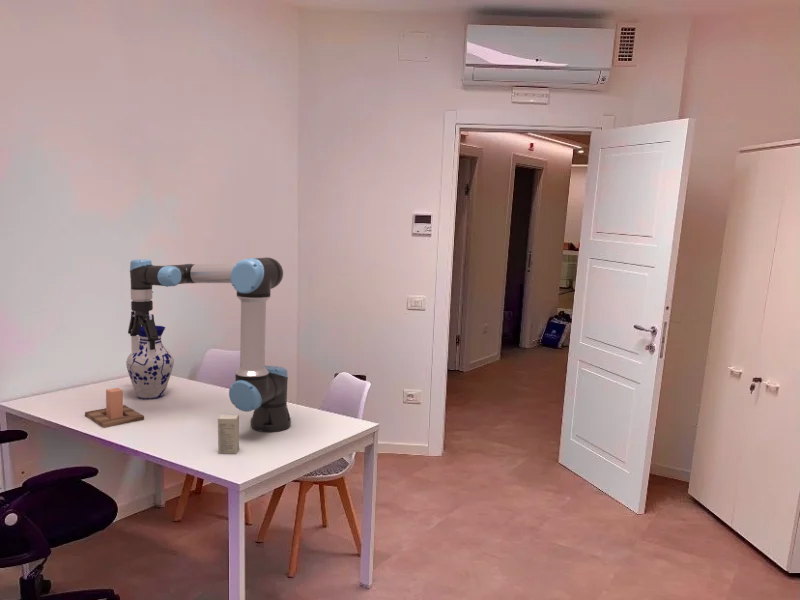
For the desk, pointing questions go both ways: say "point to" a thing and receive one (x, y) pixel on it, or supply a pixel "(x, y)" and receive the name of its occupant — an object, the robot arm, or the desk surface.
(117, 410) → the peg
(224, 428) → the skincare box
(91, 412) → the socket frame
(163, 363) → the vase
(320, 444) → the desk surface
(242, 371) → the robot arm
